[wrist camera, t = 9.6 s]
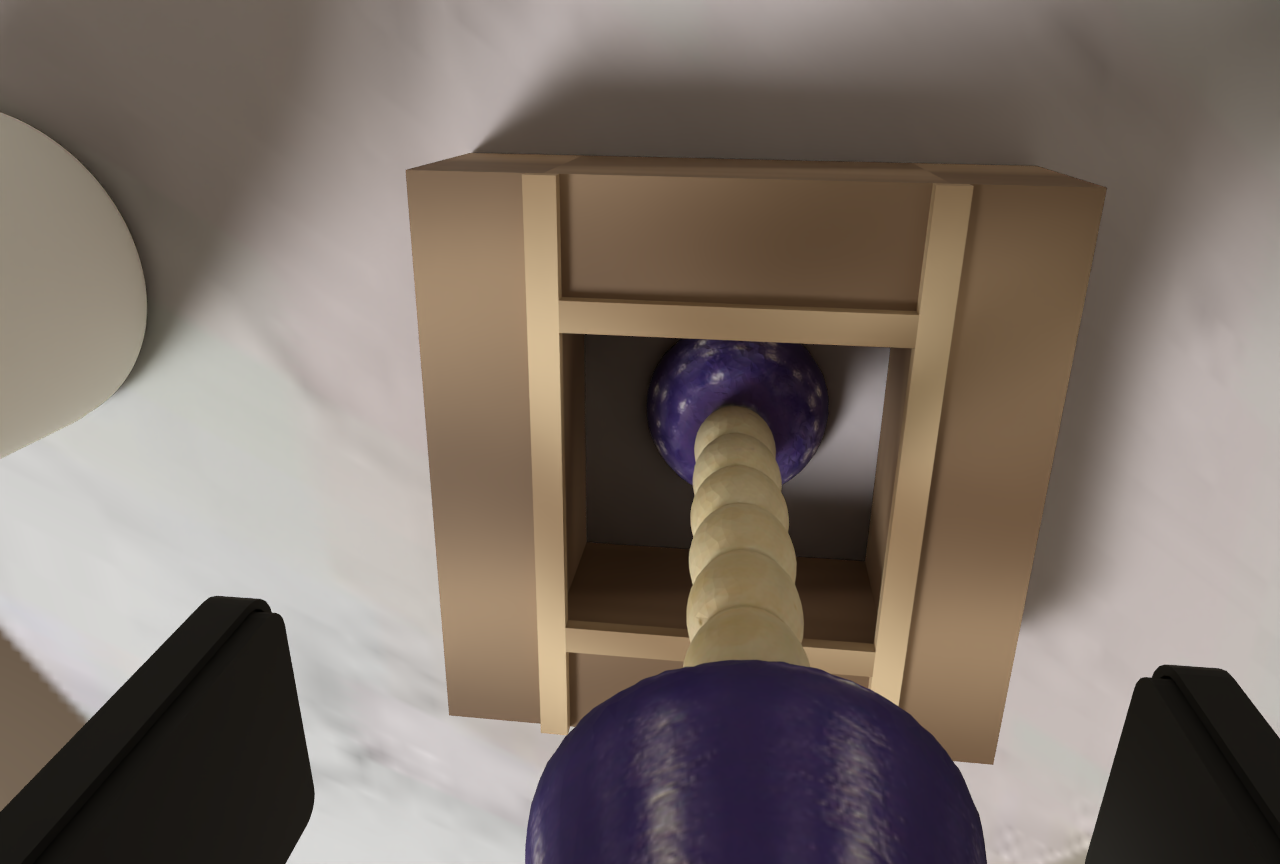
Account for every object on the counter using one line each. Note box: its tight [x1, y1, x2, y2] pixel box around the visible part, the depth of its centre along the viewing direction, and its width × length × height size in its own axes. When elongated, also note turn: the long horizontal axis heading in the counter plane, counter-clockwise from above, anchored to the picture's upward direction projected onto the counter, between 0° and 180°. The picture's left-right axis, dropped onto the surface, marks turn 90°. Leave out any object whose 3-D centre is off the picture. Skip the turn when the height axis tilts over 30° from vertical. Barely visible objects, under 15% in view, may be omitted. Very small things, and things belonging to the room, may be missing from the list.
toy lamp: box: [525, 338, 987, 864], centre depth 14 cm, size 5×5×17 cm
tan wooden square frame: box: [406, 153, 1107, 765], centre depth 19 cm, size 12×12×4 cm
